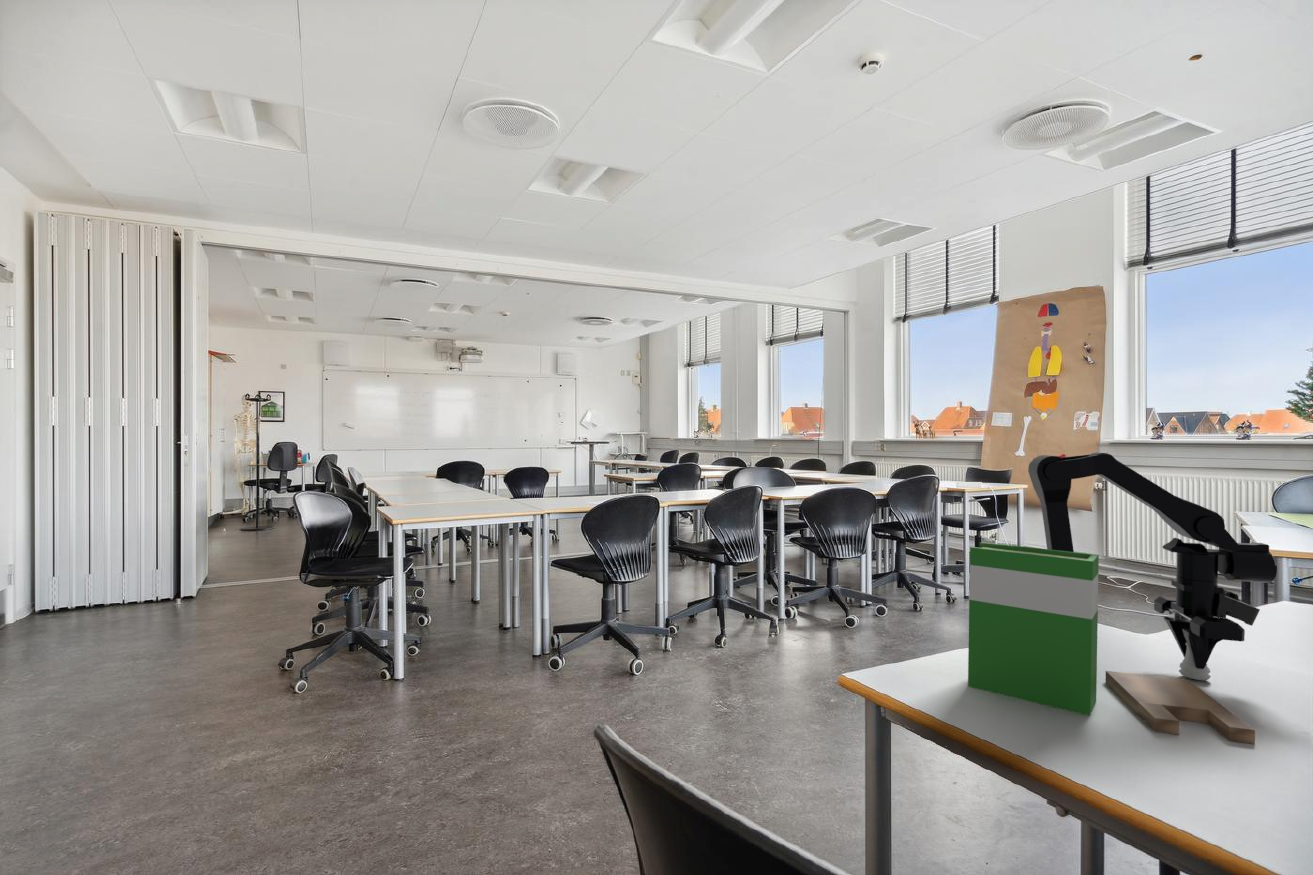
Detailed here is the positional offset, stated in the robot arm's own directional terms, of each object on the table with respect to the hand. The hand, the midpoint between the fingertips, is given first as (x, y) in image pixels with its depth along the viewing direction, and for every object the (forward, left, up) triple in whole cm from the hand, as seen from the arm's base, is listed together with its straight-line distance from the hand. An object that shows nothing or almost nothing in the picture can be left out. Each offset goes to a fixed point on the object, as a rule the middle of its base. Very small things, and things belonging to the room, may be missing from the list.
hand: (1194, 664), depth 117 cm
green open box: (-30, -17, -3) cm, 35 cm away
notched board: (-10, -17, -3) cm, 20 cm away
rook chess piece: (0, 0, -2) cm, 2 cm away
